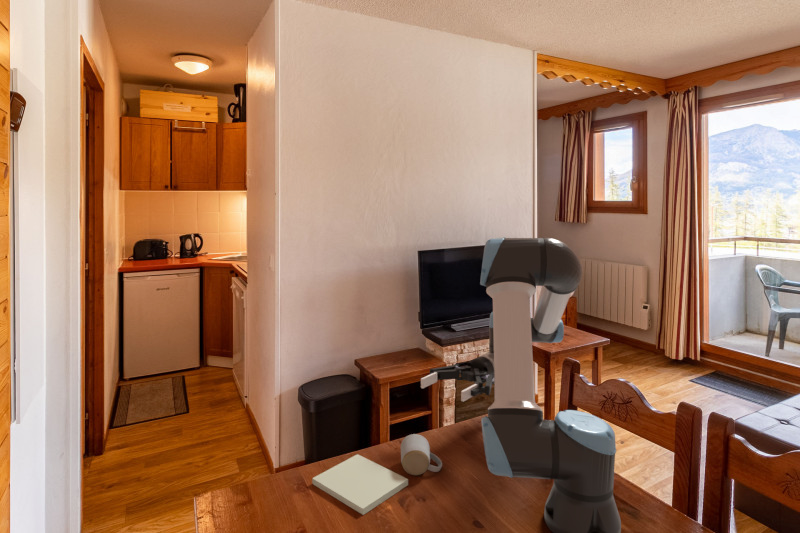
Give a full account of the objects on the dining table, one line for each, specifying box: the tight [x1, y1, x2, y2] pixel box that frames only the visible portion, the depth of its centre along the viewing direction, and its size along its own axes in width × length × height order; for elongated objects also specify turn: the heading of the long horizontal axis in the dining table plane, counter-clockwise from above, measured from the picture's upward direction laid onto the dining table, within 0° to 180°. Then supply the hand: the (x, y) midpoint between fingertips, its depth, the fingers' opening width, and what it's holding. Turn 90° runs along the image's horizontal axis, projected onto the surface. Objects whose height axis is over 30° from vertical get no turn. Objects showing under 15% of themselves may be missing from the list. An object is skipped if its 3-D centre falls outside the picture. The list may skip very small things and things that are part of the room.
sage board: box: [311, 453, 409, 516], centre depth 117 cm, size 18×15×2 cm
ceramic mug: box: [400, 433, 443, 476], centre depth 123 cm, size 11×8×8 cm
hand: (441, 389), depth 129 cm, fingers open, 13 cm apart
